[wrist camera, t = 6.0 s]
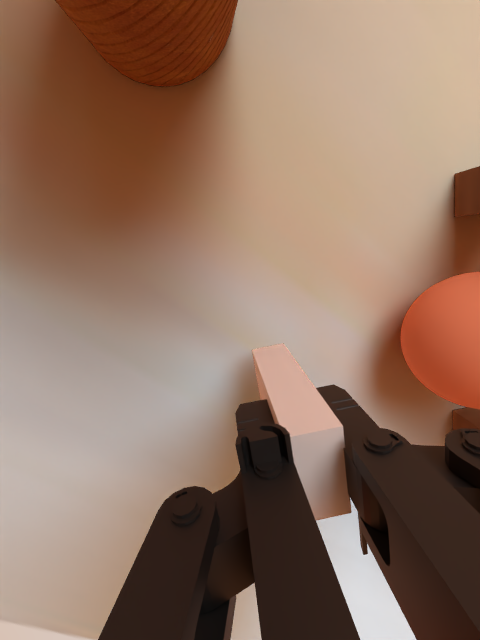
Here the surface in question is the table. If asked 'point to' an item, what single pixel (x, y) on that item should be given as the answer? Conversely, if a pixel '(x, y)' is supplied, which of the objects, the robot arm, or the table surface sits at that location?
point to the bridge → (470, 198)
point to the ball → (446, 339)
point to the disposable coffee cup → (155, 35)
